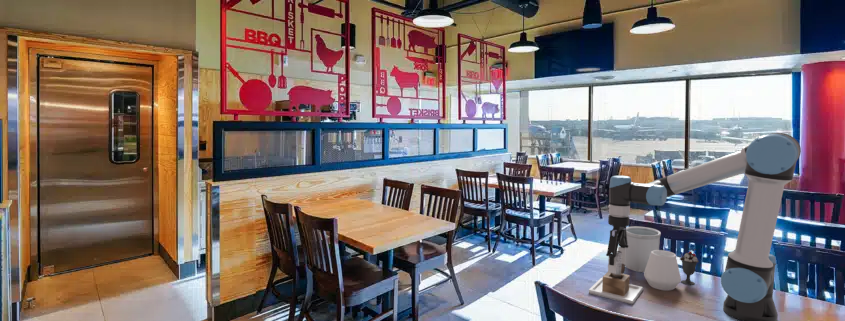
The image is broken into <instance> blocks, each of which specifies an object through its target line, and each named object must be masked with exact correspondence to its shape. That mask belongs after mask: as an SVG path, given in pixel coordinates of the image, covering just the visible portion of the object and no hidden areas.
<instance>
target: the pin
mask: <svg viewBox="0 0 845 321" xmlns="http://www.w3.org/2000/svg"><path fill="white" fill-rule="evenodd" d="M616 257H617V260H616V274H615V273H612V277H613V278H618V279H621V265H622V252H620V251H618V250H617V253H616Z"/></svg>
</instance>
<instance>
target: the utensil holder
mask: <svg viewBox="0 0 845 321" xmlns="http://www.w3.org/2000/svg"><path fill="white" fill-rule="evenodd" d="M626 232H627V243H628V244H627V245H628V248H626V256H625V268H627V269H628V270H631V271H634V272H637V273H644V271H645V268H646V265H647V263H648V260H649V257H650V254H651V251H654V250H660V239H661V235H662V233H661V231H660V230H658V229H656V228H652V227H645V226H627V227H626Z"/></svg>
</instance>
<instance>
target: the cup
mask: <svg viewBox="0 0 845 321" xmlns="http://www.w3.org/2000/svg"><path fill="white" fill-rule="evenodd" d="M643 273H644V274H643V276H644V278H645V280H646V281H647V283H648V285H649V286H650V287H651V288H653V289H656V290H661V291H674V290H675V289H676V287H678V285H680V283H682V282H681V281H682V278H681V274H680V273H681V272H680V269H679V264H678V259H677V256H676V253H674V252H672V251H669V250H663V249H659V250H654V251H651V254H650V257H649V260H648V263H647V265H646V268H645V271H644V272H643Z"/></svg>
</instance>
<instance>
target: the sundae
mask: <svg viewBox="0 0 845 321" xmlns="http://www.w3.org/2000/svg"><path fill="white" fill-rule="evenodd" d="M696 250H697V249H696V248H694V249H693V250H692V251H689V252H686V253H685V254H684V255H683V254H682V253H681V254H680V256H681V257H679V261H681V265H682V272H683V273H684V274H685V275H686V279H684V280H683V279H681V282H680V283H681V284H683V285H686V286H694V285H696V284H695V282H693V281H692V280H691V276H692V275H693V274H695V271H696V268H697V264H698V263H699V262H700V261H699V259H698V258H697V255H696V253H693V252H695V251H696Z"/></svg>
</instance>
